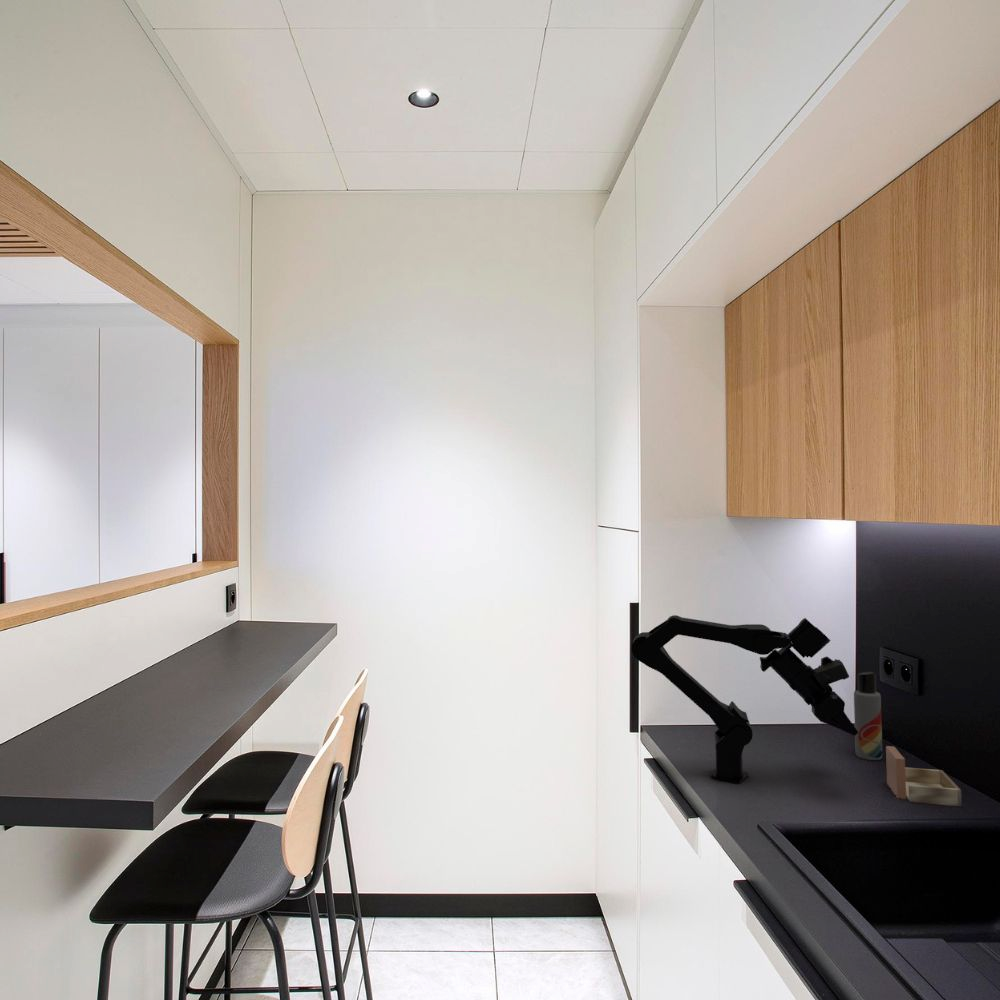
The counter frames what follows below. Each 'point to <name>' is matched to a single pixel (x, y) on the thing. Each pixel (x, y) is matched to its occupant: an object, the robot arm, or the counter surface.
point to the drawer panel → (896, 772)
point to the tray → (931, 787)
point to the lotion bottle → (868, 718)
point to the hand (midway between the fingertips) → (851, 727)
